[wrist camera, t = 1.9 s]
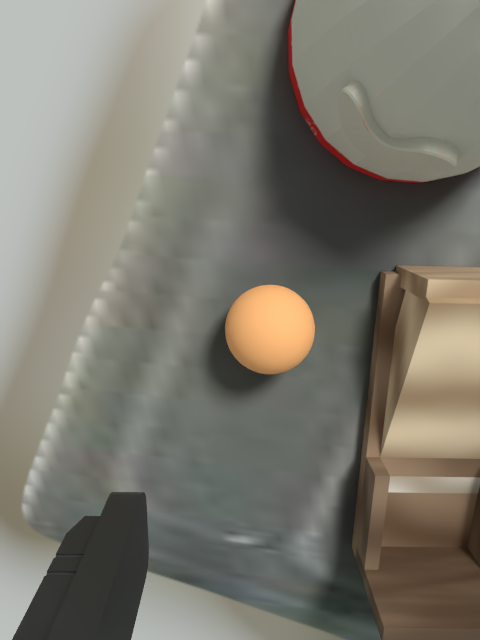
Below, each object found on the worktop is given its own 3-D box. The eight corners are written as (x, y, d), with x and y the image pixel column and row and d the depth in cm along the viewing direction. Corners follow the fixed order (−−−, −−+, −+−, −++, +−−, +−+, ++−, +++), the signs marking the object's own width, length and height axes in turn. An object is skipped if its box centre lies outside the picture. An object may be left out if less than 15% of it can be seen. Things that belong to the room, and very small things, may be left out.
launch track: (372, 260, 28) (430, 288, 20) (507, 263, 28) (623, 292, 20) (345, 528, 33) (382, 641, 25) (458, 530, 34) (533, 643, 25)
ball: (226, 276, 26) (224, 294, 22) (310, 278, 26) (325, 296, 22) (225, 355, 28) (223, 388, 23) (305, 356, 28) (319, 389, 23)
